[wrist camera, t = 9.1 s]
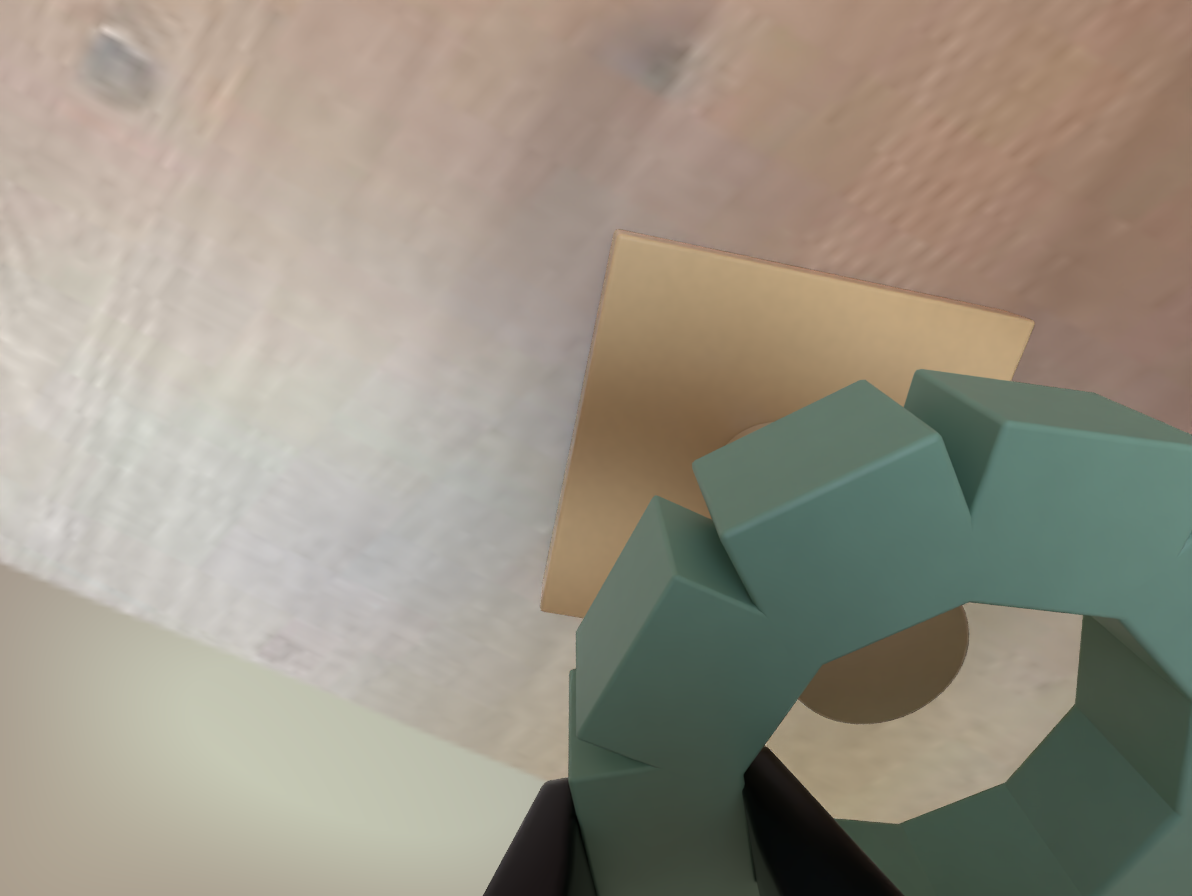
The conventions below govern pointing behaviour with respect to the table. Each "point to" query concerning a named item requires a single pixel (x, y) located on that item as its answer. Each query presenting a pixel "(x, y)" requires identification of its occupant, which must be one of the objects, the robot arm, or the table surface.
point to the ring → (885, 607)
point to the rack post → (751, 417)
